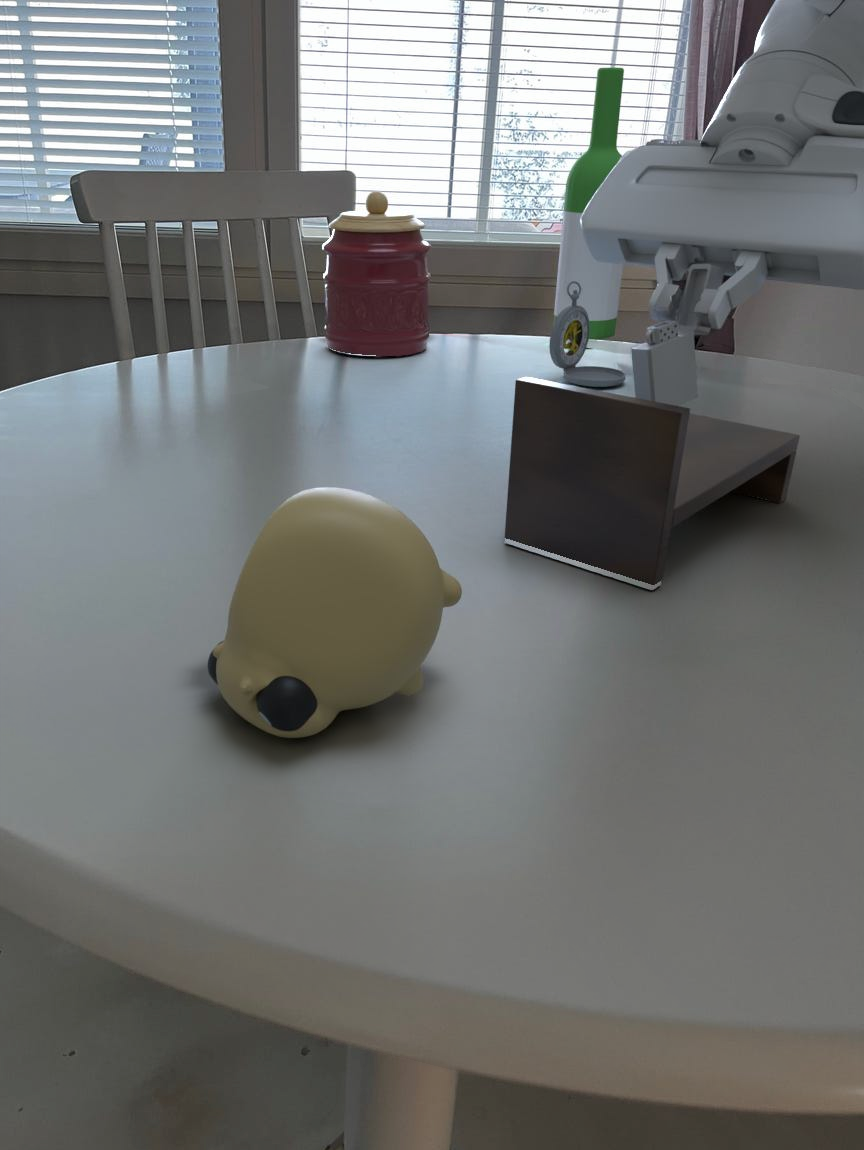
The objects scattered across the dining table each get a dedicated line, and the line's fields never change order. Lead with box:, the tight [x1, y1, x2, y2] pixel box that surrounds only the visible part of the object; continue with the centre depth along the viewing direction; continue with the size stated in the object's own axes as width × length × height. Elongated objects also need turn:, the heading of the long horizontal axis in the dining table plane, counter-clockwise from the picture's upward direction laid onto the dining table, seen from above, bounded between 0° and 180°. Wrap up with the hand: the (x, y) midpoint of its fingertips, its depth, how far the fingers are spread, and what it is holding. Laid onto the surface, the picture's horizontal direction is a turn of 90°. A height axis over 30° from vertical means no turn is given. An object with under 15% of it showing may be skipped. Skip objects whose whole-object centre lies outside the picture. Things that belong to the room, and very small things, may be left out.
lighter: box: [630, 264, 725, 407], centre depth 61 cm, size 7×2×8 cm, turn 123°
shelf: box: [504, 376, 801, 585], centre depth 64 cm, size 11×21×11 cm, turn 138°
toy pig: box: [207, 486, 463, 739], centre depth 44 cm, size 10×12×11 cm
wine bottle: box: [552, 67, 625, 350], centre depth 111 cm, size 8×8×30 cm
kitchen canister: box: [321, 190, 432, 357], centre depth 112 cm, size 13×13×18 cm
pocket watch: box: [549, 281, 627, 388], centre depth 100 cm, size 8×8×10 cm
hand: (682, 318), depth 60 cm, fingers closed on lighter, 2 cm apart
